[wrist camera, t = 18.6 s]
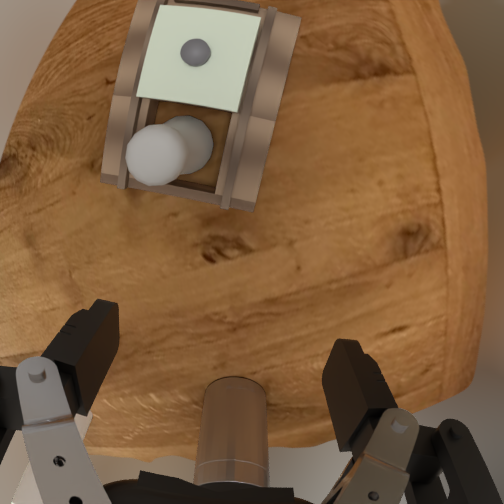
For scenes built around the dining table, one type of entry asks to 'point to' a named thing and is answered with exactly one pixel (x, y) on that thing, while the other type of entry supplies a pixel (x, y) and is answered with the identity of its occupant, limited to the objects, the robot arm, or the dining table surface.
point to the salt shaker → (168, 150)
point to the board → (241, 125)
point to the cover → (199, 57)
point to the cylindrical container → (27, 491)
